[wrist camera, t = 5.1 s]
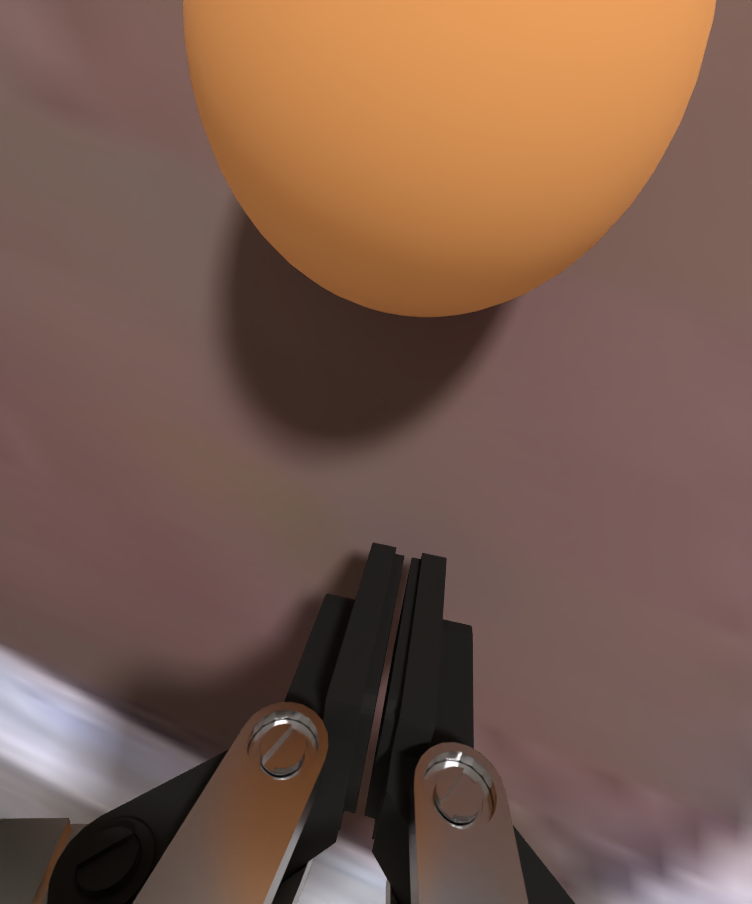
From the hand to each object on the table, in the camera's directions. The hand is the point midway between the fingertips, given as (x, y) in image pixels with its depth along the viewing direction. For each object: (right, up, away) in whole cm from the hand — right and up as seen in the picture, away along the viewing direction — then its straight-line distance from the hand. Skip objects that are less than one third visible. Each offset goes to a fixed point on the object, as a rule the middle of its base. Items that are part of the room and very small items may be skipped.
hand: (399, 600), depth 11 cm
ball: (0, +8, -5) cm, 9 cm away
